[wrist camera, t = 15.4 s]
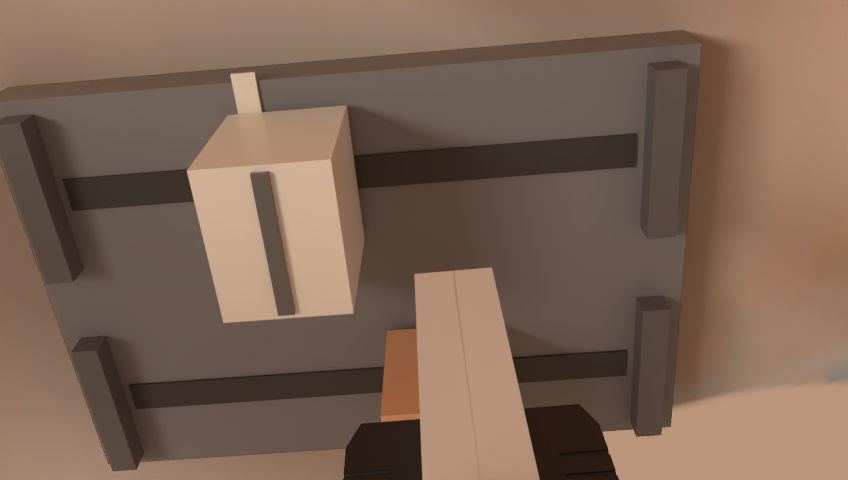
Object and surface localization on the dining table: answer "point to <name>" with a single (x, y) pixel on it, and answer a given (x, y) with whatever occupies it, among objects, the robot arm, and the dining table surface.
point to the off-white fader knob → (280, 214)
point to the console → (368, 235)
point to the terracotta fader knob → (400, 377)
